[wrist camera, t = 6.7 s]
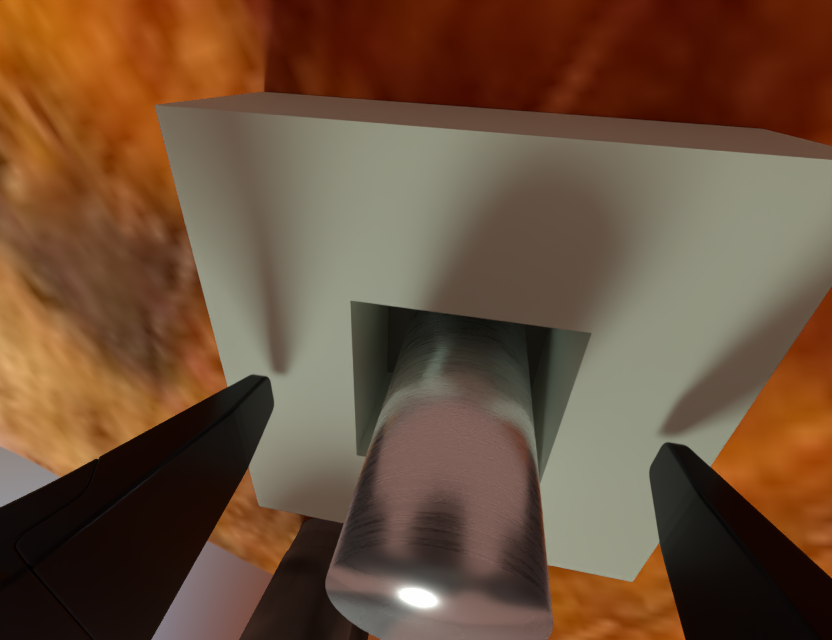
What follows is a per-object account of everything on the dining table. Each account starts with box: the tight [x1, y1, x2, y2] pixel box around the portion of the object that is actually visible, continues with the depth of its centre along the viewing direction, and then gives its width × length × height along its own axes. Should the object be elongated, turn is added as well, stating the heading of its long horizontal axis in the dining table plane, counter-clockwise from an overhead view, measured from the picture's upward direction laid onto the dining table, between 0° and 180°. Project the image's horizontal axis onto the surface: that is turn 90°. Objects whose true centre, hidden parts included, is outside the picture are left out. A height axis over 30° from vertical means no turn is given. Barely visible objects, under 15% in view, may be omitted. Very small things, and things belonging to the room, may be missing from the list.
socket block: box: [155, 92, 832, 582], centre depth 12 cm, size 12×12×4 cm
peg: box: [325, 309, 553, 640], centre depth 10 cm, size 4×4×8 cm
